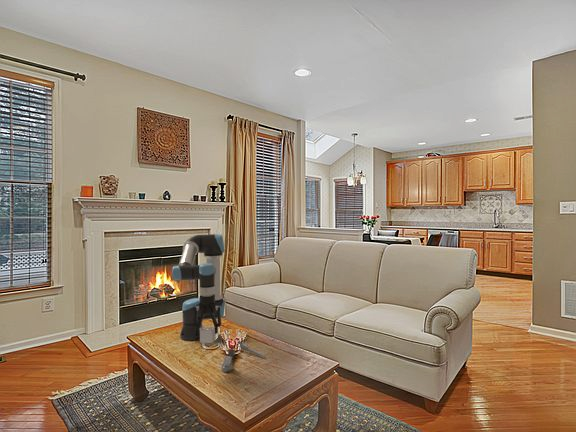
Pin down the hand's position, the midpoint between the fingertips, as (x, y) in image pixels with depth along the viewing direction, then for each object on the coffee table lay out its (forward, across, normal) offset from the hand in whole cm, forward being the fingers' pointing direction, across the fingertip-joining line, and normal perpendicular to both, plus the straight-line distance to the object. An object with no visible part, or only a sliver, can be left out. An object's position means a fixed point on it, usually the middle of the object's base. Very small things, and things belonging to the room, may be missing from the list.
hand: (207, 339), depth 173 cm
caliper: (+16, +20, +17) cm, 31 cm away
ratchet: (+15, +9, +7) cm, 19 cm away
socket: (0, 0, 0) cm, 0 cm away
